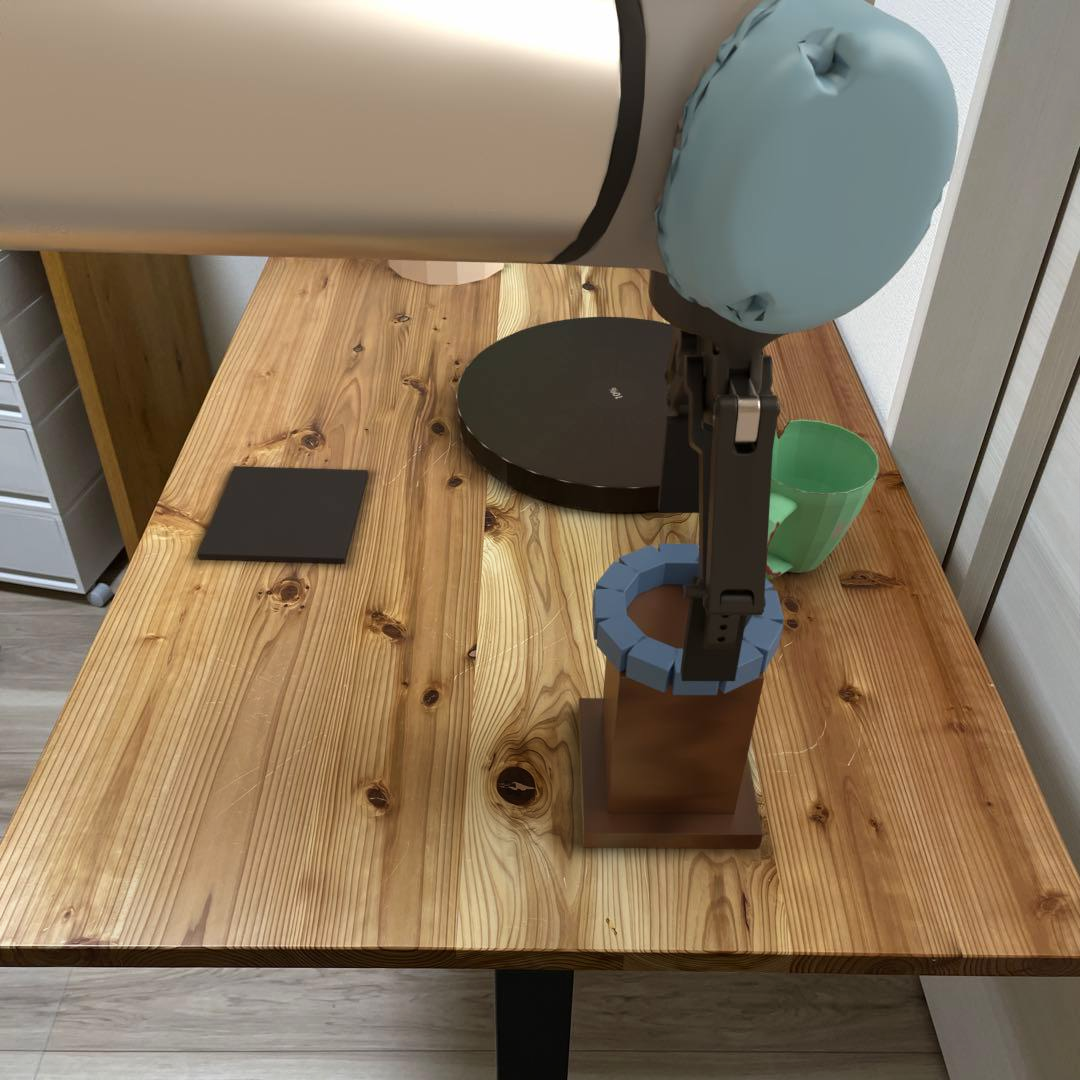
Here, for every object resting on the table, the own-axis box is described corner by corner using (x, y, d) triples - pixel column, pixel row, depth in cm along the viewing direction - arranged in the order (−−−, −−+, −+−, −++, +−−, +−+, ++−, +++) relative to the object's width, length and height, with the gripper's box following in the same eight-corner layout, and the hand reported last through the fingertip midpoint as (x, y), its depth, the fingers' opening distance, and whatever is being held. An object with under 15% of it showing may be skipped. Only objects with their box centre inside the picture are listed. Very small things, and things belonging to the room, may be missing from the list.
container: (413, 294, 122) (402, 135, 110) (370, 245, 132) (355, 94, 120) (527, 270, 127) (527, 115, 116) (477, 224, 137) (473, 77, 125)
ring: (596, 694, 58) (598, 672, 57) (589, 564, 66) (590, 542, 65) (792, 696, 58) (798, 673, 57) (761, 565, 66) (765, 543, 65)
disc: (407, 384, 107) (405, 357, 106) (655, 315, 119) (657, 291, 117) (556, 556, 88) (557, 527, 86) (836, 454, 99) (842, 427, 97)
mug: (765, 501, 93) (783, 405, 87) (871, 544, 89) (899, 446, 83) (682, 595, 84) (695, 494, 78) (797, 647, 80) (821, 546, 74)
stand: (583, 847, 67) (593, 697, 58) (578, 711, 75) (586, 562, 66) (759, 848, 67) (796, 699, 58) (734, 713, 75) (764, 563, 66)
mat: (345, 563, 87) (344, 558, 86) (198, 559, 87) (196, 553, 86) (368, 475, 96) (367, 469, 95) (235, 471, 96) (234, 465, 96)
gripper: (903, 378, 37) (801, 765, 50) (778, 122, 56) (729, 454, 69) (683, 377, 37) (642, 765, 50) (634, 122, 56) (613, 454, 69)
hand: (692, 585), depth 60 cm, fingers open, 13 cm apart
